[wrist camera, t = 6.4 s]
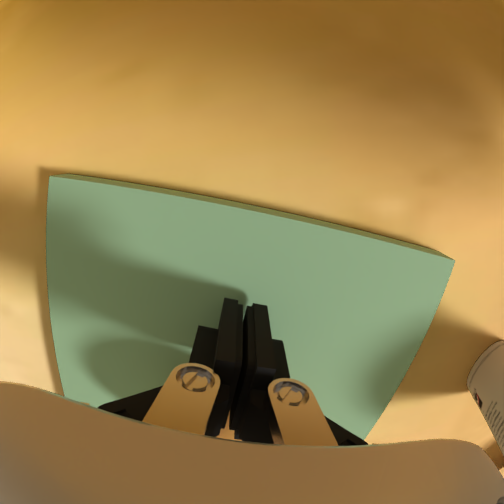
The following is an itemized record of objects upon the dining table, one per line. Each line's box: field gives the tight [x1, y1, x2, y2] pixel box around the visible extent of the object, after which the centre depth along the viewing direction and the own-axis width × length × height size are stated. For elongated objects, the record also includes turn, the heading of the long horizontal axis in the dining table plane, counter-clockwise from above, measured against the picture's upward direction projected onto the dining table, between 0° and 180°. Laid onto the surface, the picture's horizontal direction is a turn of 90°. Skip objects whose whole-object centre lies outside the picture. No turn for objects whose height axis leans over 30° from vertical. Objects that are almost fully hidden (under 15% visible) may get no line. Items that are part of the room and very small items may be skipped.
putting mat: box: [46, 174, 455, 440], centre depth 15 cm, size 28×18×2 cm, turn 168°
